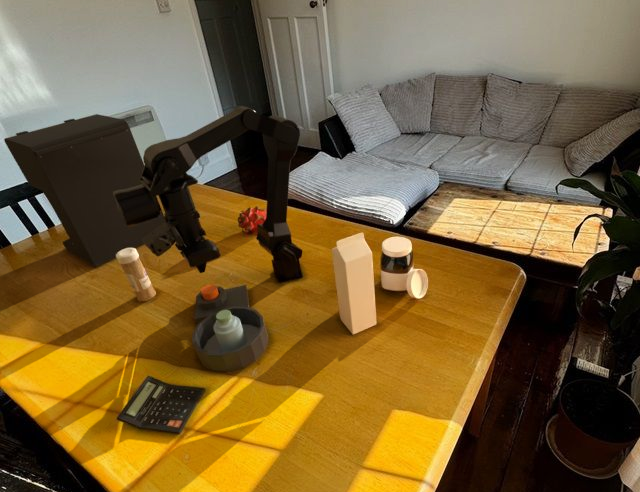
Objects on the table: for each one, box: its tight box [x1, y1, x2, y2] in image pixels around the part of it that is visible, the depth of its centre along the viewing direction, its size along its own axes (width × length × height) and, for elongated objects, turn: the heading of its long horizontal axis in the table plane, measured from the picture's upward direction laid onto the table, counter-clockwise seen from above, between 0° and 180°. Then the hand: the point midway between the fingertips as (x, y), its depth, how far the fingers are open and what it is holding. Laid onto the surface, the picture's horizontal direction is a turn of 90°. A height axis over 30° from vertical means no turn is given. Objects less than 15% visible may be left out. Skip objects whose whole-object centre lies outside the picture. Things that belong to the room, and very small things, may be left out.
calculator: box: [115, 374, 206, 435], centre depth 75 cm, size 9×12×3 cm
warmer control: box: [194, 284, 251, 326], centre depth 97 cm, size 12×9×4 cm
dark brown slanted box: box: [3, 113, 165, 269], centre depth 121 cm, size 28×20×35 cm
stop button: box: [200, 284, 219, 300], centre depth 96 cm, size 4×4×2 cm
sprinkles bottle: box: [115, 248, 157, 302], centre depth 101 cm, size 5×5×14 cm
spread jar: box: [379, 236, 429, 299], centre depth 97 cm, size 12×11×12 cm
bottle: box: [214, 310, 247, 353], centre depth 85 cm, size 5×5×9 cm
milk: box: [331, 232, 377, 336], centre depth 85 cm, size 6×6×22 cm
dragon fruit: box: [237, 205, 267, 234], centre depth 127 cm, size 8×8×12 cm
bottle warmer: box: [191, 306, 269, 373], centre depth 86 cm, size 14×14×5 cm
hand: (202, 271), depth 92 cm, fingers closed
